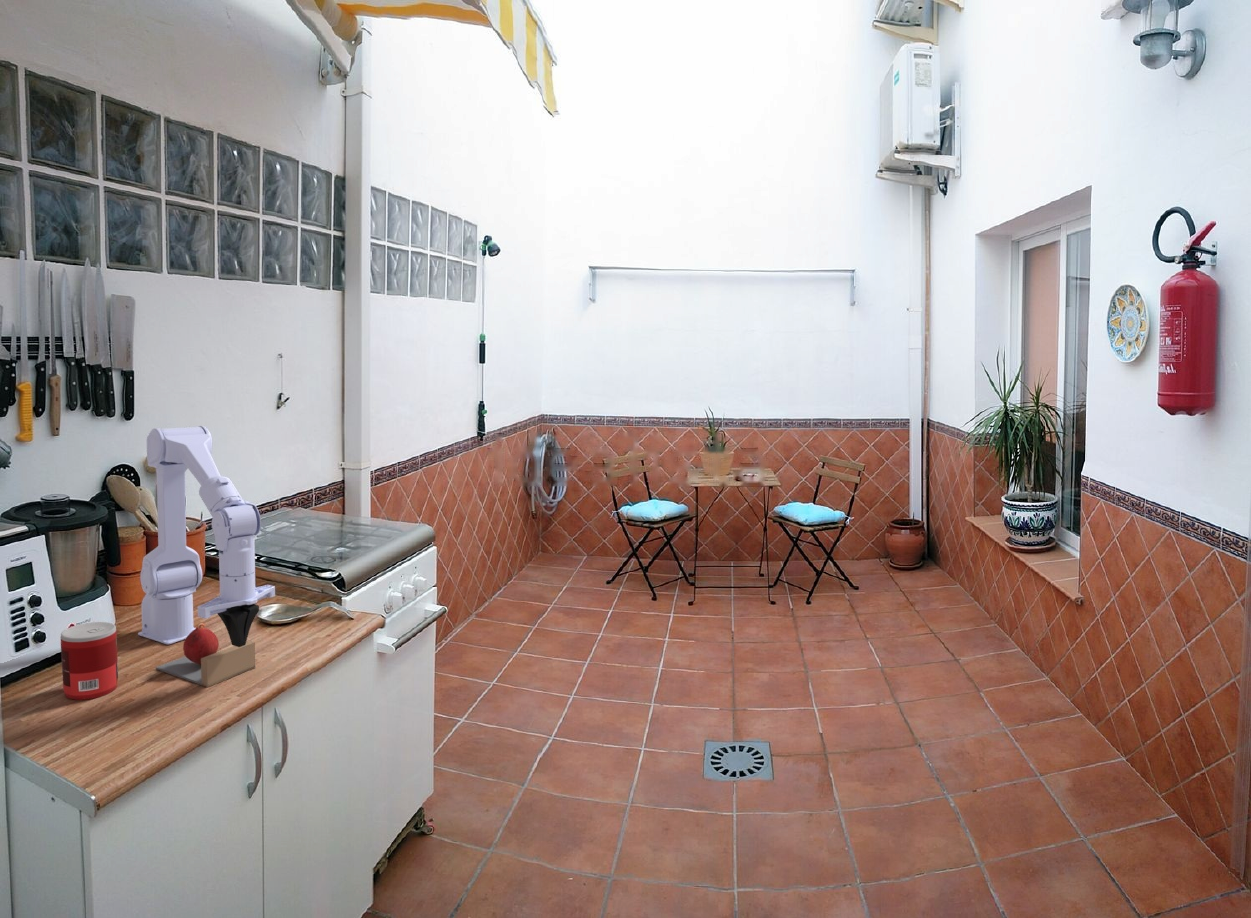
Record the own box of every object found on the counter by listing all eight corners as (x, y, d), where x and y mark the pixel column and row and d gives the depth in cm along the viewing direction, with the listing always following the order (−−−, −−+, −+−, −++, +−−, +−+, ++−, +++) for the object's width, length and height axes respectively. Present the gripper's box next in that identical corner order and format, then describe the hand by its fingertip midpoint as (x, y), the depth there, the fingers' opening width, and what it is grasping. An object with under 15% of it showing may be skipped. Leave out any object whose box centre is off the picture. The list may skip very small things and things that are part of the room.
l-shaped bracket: (155, 669, 149) (154, 643, 148) (204, 651, 158) (204, 626, 157) (207, 687, 143) (207, 660, 142) (255, 667, 152) (254, 642, 151)
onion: (204, 672, 147) (202, 631, 146) (176, 669, 149) (174, 627, 147) (226, 660, 153) (224, 620, 152) (199, 656, 154) (197, 616, 153)
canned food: (129, 685, 142) (126, 626, 140) (85, 704, 135) (82, 641, 133) (97, 677, 144) (94, 618, 143) (52, 695, 137) (49, 633, 135)
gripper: (216, 586, 135) (218, 663, 137) (286, 566, 148) (287, 636, 150) (188, 579, 138) (190, 654, 140) (259, 559, 151) (260, 629, 153)
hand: (238, 644), depth 146 cm, fingers closed
